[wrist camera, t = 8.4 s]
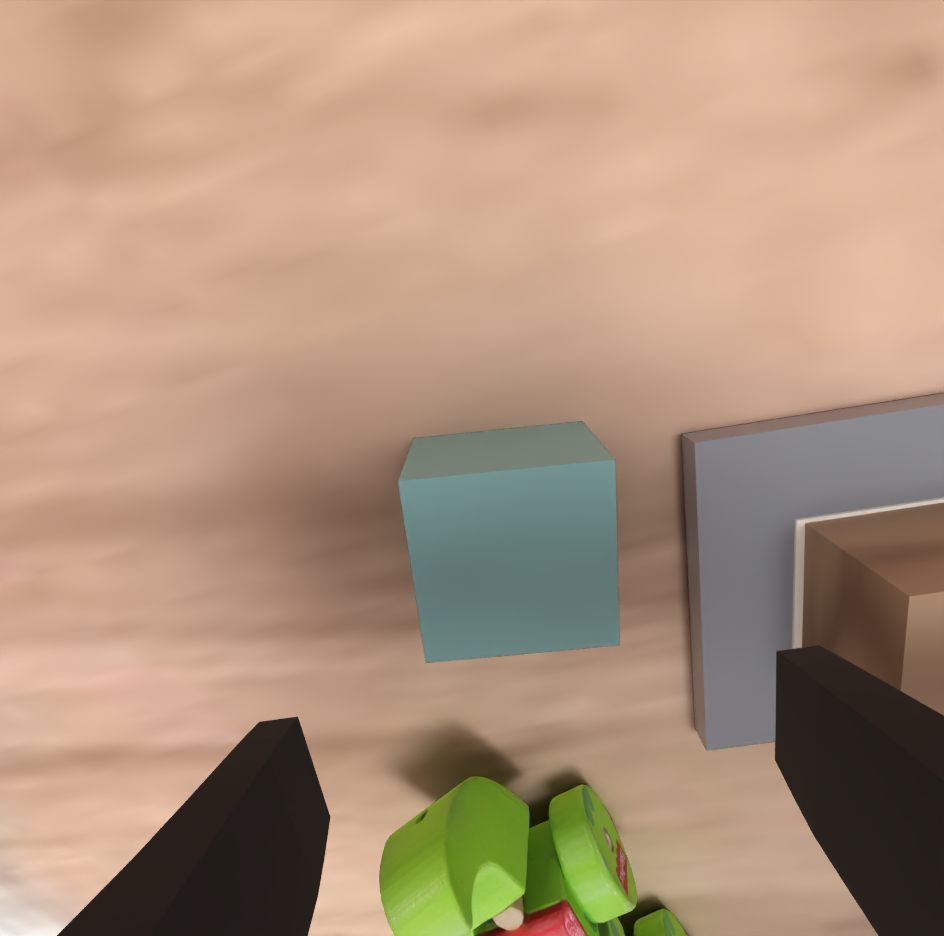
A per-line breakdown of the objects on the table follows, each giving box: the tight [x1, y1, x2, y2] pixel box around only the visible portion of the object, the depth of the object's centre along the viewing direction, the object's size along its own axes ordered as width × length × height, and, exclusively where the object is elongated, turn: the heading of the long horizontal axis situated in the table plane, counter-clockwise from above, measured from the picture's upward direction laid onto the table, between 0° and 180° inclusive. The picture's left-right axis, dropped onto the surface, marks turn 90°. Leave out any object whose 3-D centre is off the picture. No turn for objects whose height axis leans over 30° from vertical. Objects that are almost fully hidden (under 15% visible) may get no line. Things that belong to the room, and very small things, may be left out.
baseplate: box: [682, 393, 944, 751], centre depth 17 cm, size 11×11×1 cm
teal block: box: [398, 421, 620, 663], centre depth 15 cm, size 5×5×4 cm
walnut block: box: [802, 503, 944, 715], centre depth 15 cm, size 5×5×4 cm
